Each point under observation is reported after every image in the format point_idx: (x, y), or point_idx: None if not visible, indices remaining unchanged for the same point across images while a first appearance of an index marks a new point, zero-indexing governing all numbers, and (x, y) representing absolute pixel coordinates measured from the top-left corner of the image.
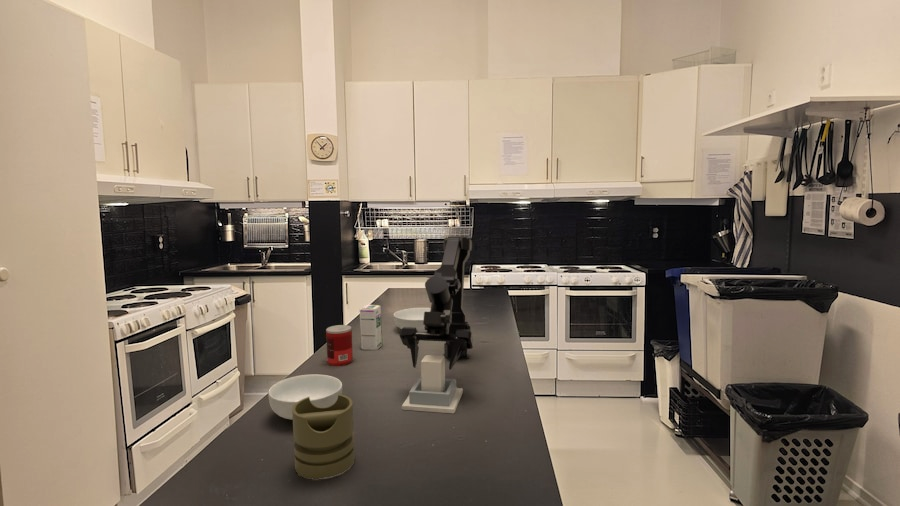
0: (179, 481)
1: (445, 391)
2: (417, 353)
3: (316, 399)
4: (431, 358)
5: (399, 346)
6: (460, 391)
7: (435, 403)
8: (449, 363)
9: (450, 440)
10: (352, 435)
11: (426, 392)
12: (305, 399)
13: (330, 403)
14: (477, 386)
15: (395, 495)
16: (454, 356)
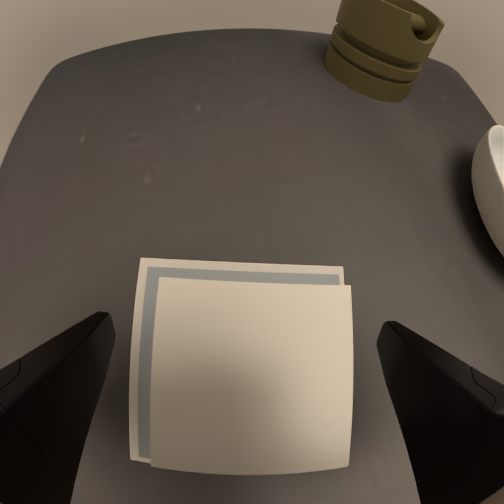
0: (465, 82)
1: None
2: (420, 464)
3: (490, 130)
4: (272, 390)
5: None
6: (133, 429)
7: None
8: (94, 325)
9: (158, 124)
10: (346, 43)
11: (259, 279)
12: (439, 21)
13: (478, 159)
14: (95, 496)
15: (237, 30)
16: (32, 354)
